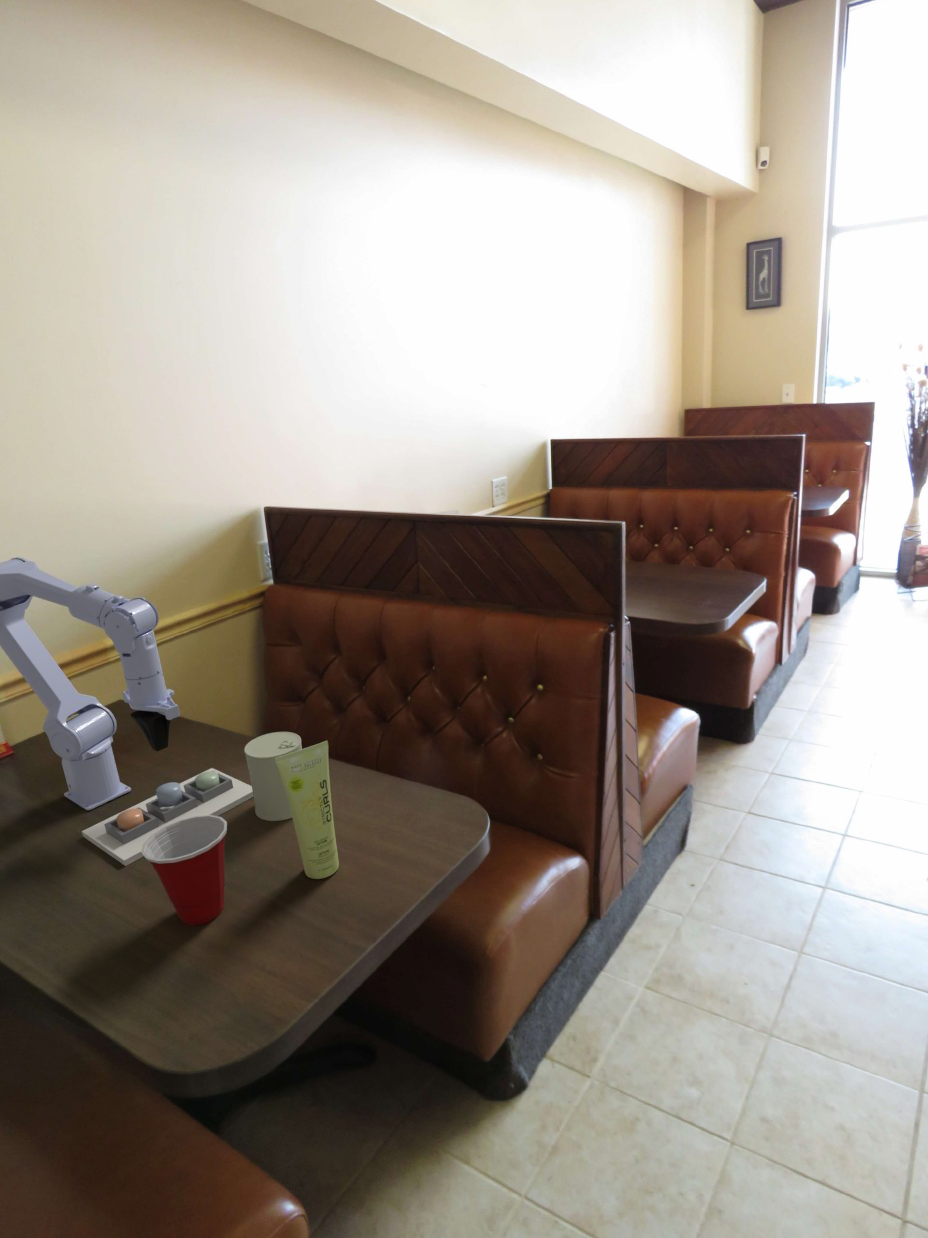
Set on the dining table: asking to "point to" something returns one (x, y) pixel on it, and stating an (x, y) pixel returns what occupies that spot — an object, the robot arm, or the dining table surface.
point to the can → (270, 773)
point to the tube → (311, 807)
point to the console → (167, 816)
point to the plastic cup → (191, 865)
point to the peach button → (129, 819)
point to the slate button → (169, 794)
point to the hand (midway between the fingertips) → (160, 748)
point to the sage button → (207, 781)
